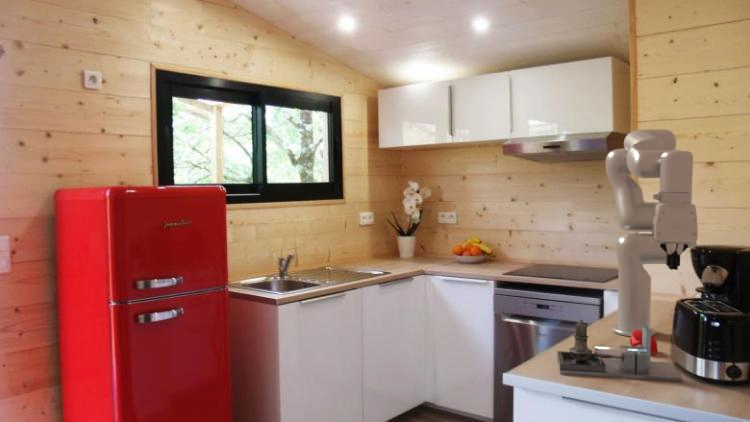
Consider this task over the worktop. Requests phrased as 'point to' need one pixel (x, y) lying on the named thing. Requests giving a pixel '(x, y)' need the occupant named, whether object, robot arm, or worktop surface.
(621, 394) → the worktop surface
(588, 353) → the salt shaker
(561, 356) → the jig
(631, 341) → the cap
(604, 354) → the shaft
